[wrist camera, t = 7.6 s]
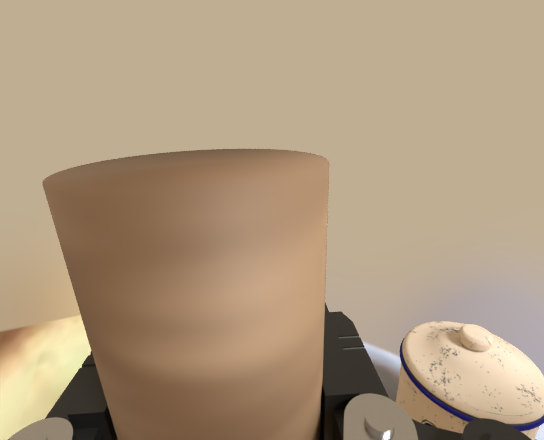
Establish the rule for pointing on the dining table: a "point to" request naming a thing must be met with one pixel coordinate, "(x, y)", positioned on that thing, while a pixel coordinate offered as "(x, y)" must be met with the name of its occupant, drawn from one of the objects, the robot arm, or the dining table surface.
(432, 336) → the teacup with lid
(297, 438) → the walnut peg
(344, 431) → the robot arm
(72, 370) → the dining table surface
